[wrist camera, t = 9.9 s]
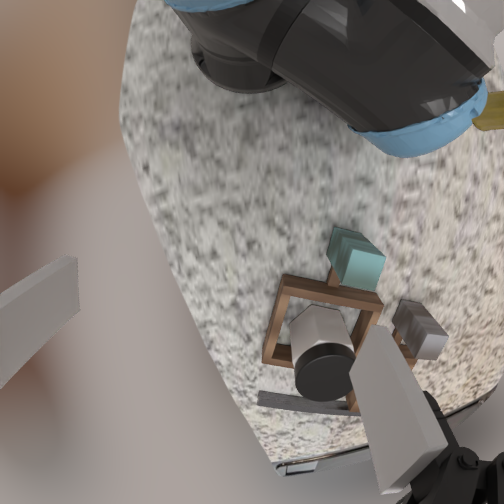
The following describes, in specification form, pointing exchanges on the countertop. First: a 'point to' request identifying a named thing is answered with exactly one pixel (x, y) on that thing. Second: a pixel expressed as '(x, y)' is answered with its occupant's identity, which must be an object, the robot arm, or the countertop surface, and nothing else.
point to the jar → (321, 354)
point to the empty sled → (412, 338)
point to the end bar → (303, 404)
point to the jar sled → (332, 291)
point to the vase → (491, 113)
